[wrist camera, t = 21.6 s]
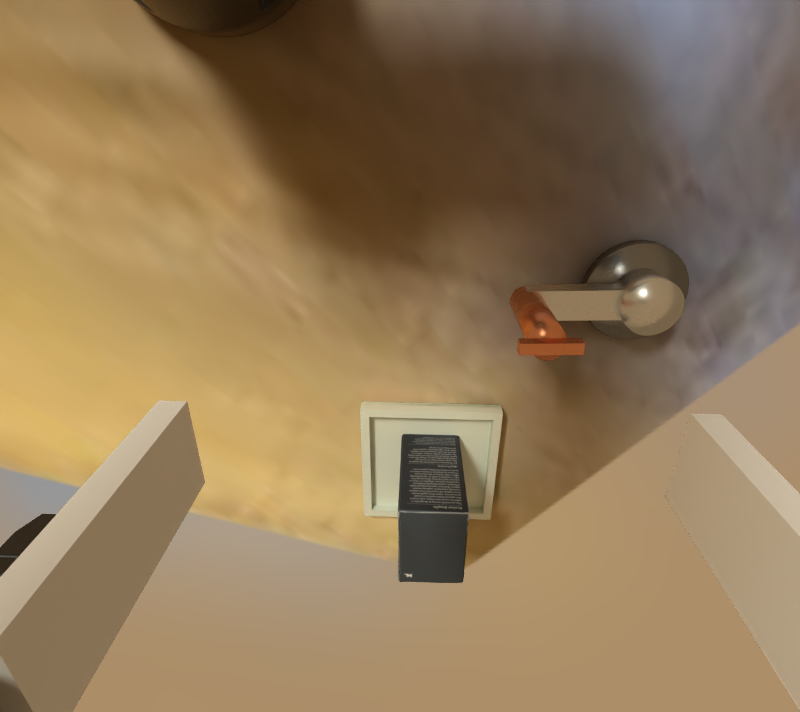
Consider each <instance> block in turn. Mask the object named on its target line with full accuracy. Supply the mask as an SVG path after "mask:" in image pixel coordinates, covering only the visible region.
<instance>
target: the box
mask: <svg viewBox="0 0 800 712" xmlns="http://www.w3.org/2000/svg"><path fill="white" fill-rule="evenodd" d="M397 514H398V535H399V537H398V538H399V555H398V580H399V581H400V582H435V583H461V582H463V577H464V565H465V554H466V542H467V530H468V519H469V509H468V502H467V495H466V487H465V479H464V471H463V463H462V455H461V448H460V440H459V436H457V435H430V434H403V435H402V439H401V461H400V481H399V499H398V512H397Z"/></svg>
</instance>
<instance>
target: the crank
mask: <svg viewBox="0 0 800 712" xmlns="http://www.w3.org/2000/svg"><path fill="white" fill-rule="evenodd" d="M510 305H511V308H512V310H513V312H514V314H515V316H516V319H517V321H518V323H519V325H520V327H521V330H522V332H523V334H524V336H525V339H518V346H517V351H518V353H519V355H534V356H535V357H536V358H538V359H540V360H545V361H550V360H554V359H557V358H558V357H560V356H561V355H584V350H585V342H584V341H583V339H582V338H568V337H567V335H566V333H565V332H564V330H563V329H562V327H561V325H560V324H559V322H558V321H589V320H621V321H622V322H623V323H624V324H625V325H626V326H627V327H628V328H629V329H630V330H631V331H632V332H634V333H636V334H639V335H644V336H650V335H656V334H660V333H662V332H664V331H666V330H668V329H669V328H671V327H672V326H673V325H674V324H675V323H676V322H677V321H678V320H679V318H680V316H681V315H682V312H683V310H684V305H685V300H684V295H683V293H682V291H681V289H680V288H679V287H678V286H677V285H676V284H674V283H673V282H671V281H670V280H668V279H667V278H665V277H664V276H663V275H661V274H660V273H658V272H657V271H655V270H652V269H649V268H638V269H634V270H631V271H629V272H627V273H625V274H623V275H622V276H621V277H620V278H619V279H618V280H617V281H616V282H615V283H614V284H541V285H524V286H523V287H520V288H518V289H517V290H515V291H514V293H513V294H512V296H511V299H510Z"/></svg>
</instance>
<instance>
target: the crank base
mask: <svg viewBox="0 0 800 712" xmlns="http://www.w3.org/2000/svg"><path fill="white" fill-rule="evenodd" d="M638 268H649V269H652V270H655V271H657V272H658V273H660V274H661V275H663V276H664V277H665V278H667V279H668V280H670V281H671V282H673V283H674V284H676V285H677V286H678V287H679V288H680V289H681V291H682V293H683V295H684V300H685V299H686V296H687V292H688V286H689V279H688V273H687V269H686V267H685V265H684V263H683V261H682V260H681V259H680V257H679V256H678V255H677V254H675V253H674V252H673V251H671V250H670V249H668V248H666V247H664V246H662V245H661V244H658V243H656V242H652V241H646V240H634V241H629V242H625V243H621V244H619V245H617V246H614V247H612V248H611V249H609V250H607V251H606V252H605V253H603V254H602V255H601V256H600V257H599V258H597V259H596V261H595V262H594V263H593V264H592V265H591V267H590V268H589V270H588V271H587V273H586V275H585V277H584V280H583V283H582V284H614V283H615V282H616V281H617V280H618V279H619V278H620V277H621V276H622V275H623V274H625V273H627V272H629V271H631V270H634V269H638ZM590 321H591V322H592V324H593V325H594V326H595V327H596V328H597V329H598V330H600V331H601V332H602V333H604V334H606V335H608V336H611V337H614V338H619V339H634V338H640V337H644V335H639V334H636V333H634V332H632V331H631V330H630V329H629V328H628V327H627V326H626V325H625V324H624V323H623V322H622V321H621V320H590Z"/></svg>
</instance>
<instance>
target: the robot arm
mask: <svg viewBox="0 0 800 712" xmlns="http://www.w3.org/2000/svg"><path fill="white" fill-rule="evenodd" d="M134 1H135V2H137V3H138V4H139V5H141V6H142V7H143V8H145V9H146V10H148V11H149V12H150V13H152V14H153V15H155V16H157V17H159V18H160V19H162V20H164V21H166V22H168V23H170V24H173V25H175V26H178V27H180V28H183V29H186V30H189V31H192V32H196V33H199V34H203V35H208V36H215V37H233V36H240V35H245V34H249V33H252V32H255V31H257V30H259V29H262V28H264V27H266V26H267V25H269V24H271V23H272V22H274V21H275V20H277V19H278V18H279V17H281V16H282V15H283V14H284V13H285V12H286V11H287V10H288V9H289V8H291V6H292V5H293V4H294V3H295V2H296V1H297V0H134ZM204 483H205V480H204V476H203V471H202V467H201V462H200V457H199V453H198V448H197V444H196V439H195V435H194V430H193V426H192V421H191V417H190V412H189V408H188V403H187V401H158V402H157V403H156V404H155V405H154V406H153V408H152V409H151V410H150V411H149V412H148V413H147V414H146V415H145V416H144V418H143V419H142V420H141V421H140V422H139V423H138V424H137V425H136V426H135V428H134V429H133V430H132V431H131V432H130V433H129V434H128V435H127V436H126V438H125V439H124V440H123V441H122V442H121V443H120V444H119V445H118V447H117V448H116V449H115V450H114V451H113V452H112V453H111V454H110V455H109V457H108V458H107V459H106V460H105V461H104V462H103V463H102V464H101V465H100V467H99V468H98V469H97V470H96V471H95V472H94V473H93V474H92V475H91V477H90V478H89V479H88V480H87V481H86V482H85V483H84V484H83V486H82V487H81V488H80V489H79V490H78V491H77V492H76V493H75V494H74V496H73V497H72V498H71V499H70V500H69V501H68V502H67V503H66V505H65V506H64V507H63V508H62V509H61V510H60V511H59V512H58V513H57V514H41V515H40V516H38V517H37V518H35V519H34V520H32V521H31V522H29V523H28V524H26V525H25V526H23V527H22V528H21V529H19V530H18V531H16V532H15V533H14V534H13V535H12V536H11V537H10V538H9V539H8V540H7V541H6V542H5V543H4V544H3V545H2V546H1V547H0V712H73V710H74V708H75V707H76V705H77V703H78V701H79V700H80V698H81V696H82V694H83V693H84V691H85V689H86V688H87V686H88V684H89V682H90V680H91V679H92V677H93V675H94V674H95V672H96V670H97V669H98V667H99V665H100V663H101V662H102V660H103V658H104V656H105V655H106V653H107V651H108V650H109V648H110V646H111V644H112V643H113V641H114V639H115V637H116V635H117V634H118V632H119V630H120V629H121V627H122V625H123V623H124V622H125V620H126V618H127V617H128V615H129V613H130V611H131V609H132V608H133V606H134V604H135V602H136V601H137V599H138V597H139V596H140V594H141V592H142V591H143V589H144V587H145V585H146V584H147V582H148V580H149V578H150V577H151V575H152V573H153V572H154V570H155V568H156V566H157V565H158V563H159V561H160V559H161V558H162V556H163V554H164V552H165V551H166V549H167V547H168V546H169V544H170V542H171V540H172V539H173V537H174V535H175V533H176V532H177V530H178V528H179V526H180V525H181V523H182V521H183V520H184V518H185V516H186V514H187V513H188V511H189V509H190V507H191V506H192V504H193V502H194V501H195V499H196V497H197V495H198V494H199V492H200V490H201V488H202V487H203V485H204ZM665 497H666V499H667V500H668V502H669V503H670V505H671V507H672V508H673V510H674V511H675V513H676V515H677V516H678V518H679V519H680V521H681V523H682V524H683V525H684V527H685V529H686V531H687V532H688V534H689V535H690V537H691V538H692V540H693V542H694V543H695V545H696V546H697V548H698V549H699V551H700V553H701V554H702V556H703V558H704V559H705V561H706V562H707V564H708V565H709V567H710V569H711V570H712V572H713V574H714V575H715V577H716V578H717V580H718V581H719V583H720V584H721V586H722V587H723V589H724V591H725V592H726V594H727V596H728V597H729V599H730V600H731V602H732V604H733V605H734V607H735V608H736V610H737V612H738V613H739V615H740V616H741V618H742V619H743V621H744V623H745V624H746V626H747V628H748V629H749V631H750V632H751V634H752V636H753V637H754V639H755V640H756V642H757V644H758V645H759V647H760V648H761V650H762V651H763V653H764V655H765V656H766V658H767V659H768V661H769V662H770V664H771V666H772V667H773V669H774V671H775V672H776V674H777V675H778V677H779V679H780V680H781V682H782V683H783V685H784V686H785V688H786V690H787V691H788V693H789V694H790V696H791V698H792V699H793V701H794V702H795V704H796V706H797V707H798V709H799V710H800V494H799V493H798V492H797V491H796V490H795V489H794V488H793V487H792V486H791V485H790V484H789V483H788V482H787V481H786V480H785V479H784V478H783V477H782V476H781V475H780V474H779V472H778V471H776V469H775V468H774V467H773V466H771V464H770V463H769V462H768V461H767V460H766V459H765V458H764V457H763V456H762V455H761V454H760V453H759V452H758V451H757V450H756V449H755V448H754V447H753V446H752V445H751V444H750V443H749V442H748V441H747V440H746V439H745V438H744V437H743V436H742V435H741V434H740V433H739V432H738V431H737V430H736V429H735V428H734V427H733V426H732V425H731V424H730V423H729V422H728V420H727V419H725V418H724V416H723V415H722V414H691V416H690V419H689V422H688V425H687V428H686V431H685V434H684V437H683V441H682V444H681V447H680V450H679V453H678V456H677V460H676V462H675V466H674V469H673V472H672V475H671V478H670V481H669V484H668V488H667V491H666V494H665Z"/></svg>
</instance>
